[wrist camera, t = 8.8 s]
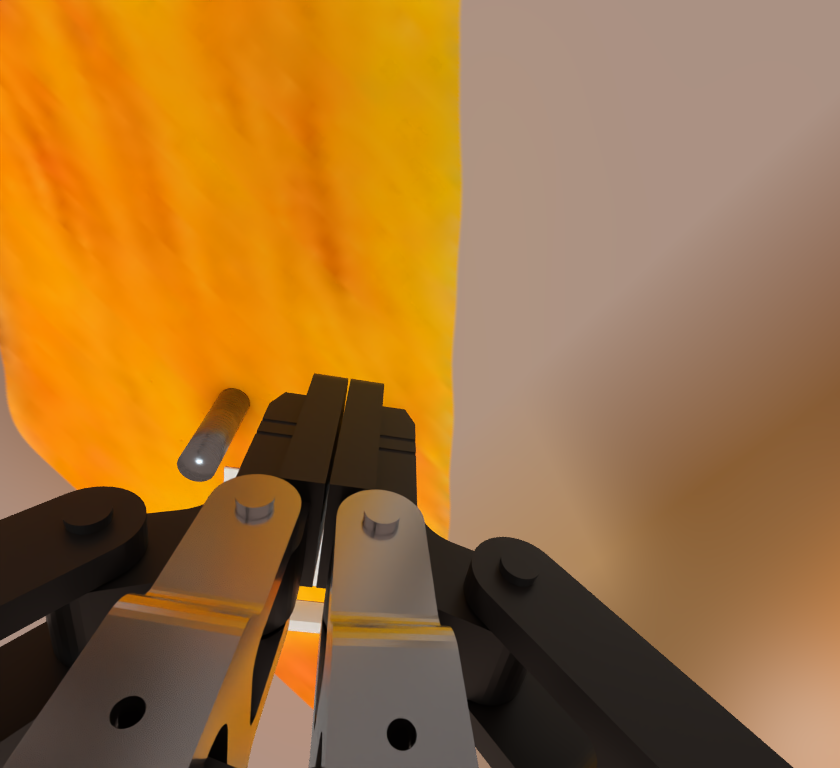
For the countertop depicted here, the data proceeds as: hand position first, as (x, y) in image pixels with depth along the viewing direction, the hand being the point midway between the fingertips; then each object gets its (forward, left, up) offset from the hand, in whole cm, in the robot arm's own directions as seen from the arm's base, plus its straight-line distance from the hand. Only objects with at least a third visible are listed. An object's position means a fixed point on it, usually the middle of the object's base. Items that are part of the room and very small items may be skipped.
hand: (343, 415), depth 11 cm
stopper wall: (+43, -1, -29) cm, 52 cm away
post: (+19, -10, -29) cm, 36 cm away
